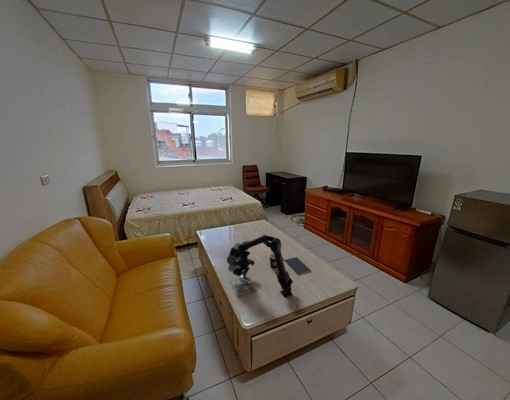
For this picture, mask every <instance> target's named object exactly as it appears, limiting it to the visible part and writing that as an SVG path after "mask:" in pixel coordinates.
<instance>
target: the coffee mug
mask: <svg viewBox="0 0 510 400" xmlns="http://www.w3.org/2000/svg"><path fill="white" fill-rule="evenodd" d="M282 258H283V262H285V261H284V260H285V257H283V256H282ZM269 263H270V264H269V266H270V268H271V269H273V270H278V267H277V263H276V259H275V255H274V253H273V252H272V253H270V254H269Z"/></svg>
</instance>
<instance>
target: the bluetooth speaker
mask: <svg viewBox="0 0 510 400" xmlns="http://www.w3.org/2000/svg"><path fill="white" fill-rule="evenodd" d="M240 244H241V243H238V242H237V243H236V244H234V246H233V247H234V248H237V249H238V246H239V245H240ZM236 259H240V256H239V257H238V258H236V257H232V256H230V252H229V253H228V255H227V257H226V262H227V263H228V265H232V266H234V265H233V261H235V260H236Z"/></svg>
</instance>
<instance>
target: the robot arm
mask: <svg viewBox="0 0 510 400" xmlns="http://www.w3.org/2000/svg"><path fill="white" fill-rule="evenodd" d="M261 244H264V245H265V246H266V247H267V248H269V249H270V251H271V253H272V254H273V253H274V255H275V259H276V263H277V267H278V268H277V270H278V274H277V276H276V279H277V282H278V284H279V285H280V288H281V290H280V291H279V292H280V294H281V295H282V296H283V297H284V298H288V297H291V296H293V295H294V294H293V292H292V284H293V282H294V281H293V279H292V278H291V277H290V275H289V272H288V271H287V270H286V266H285V261H283V260H284V259H283V258H284V257H283V256H282V241H281V239H279V238H278V237H274V236H271V235H266V234H263V235H262V236H258V237H257V238H254V239H252V240H246V241H243V242H241V243H240V245H239V246H238V249H237V248H234V246H232V247H231V249H230V251H229V253H230V256H232V257H236V258H238V257H239V256H240V257H239V259H236V260H235V261H233V265H232V266H235V267H236V266H237V267H236V268H235V269H233V270H232V274H233V275H235V276H237V277H240V276H242V275H243V276H245V277H247V275H248V272H249V270H250V269H251V268H250V267H249V266H252V267H253V266H254V265H255V261H254V260H252V259H251V258H249V255H250V254H251V252H250V251H249V249H250V248H252V247H255V246H258V245H261ZM282 257H283V258H282Z"/></svg>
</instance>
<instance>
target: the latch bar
mask: <svg viewBox="0 0 510 400" xmlns="http://www.w3.org/2000/svg"><path fill="white" fill-rule="evenodd" d="M247 277H248V276H243V274H242V275H241V276H239V279H240V280H242V281H244V282H245V283H247V284H248V285H251V281H252V279H251V278H250V279H248V278H247Z"/></svg>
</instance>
